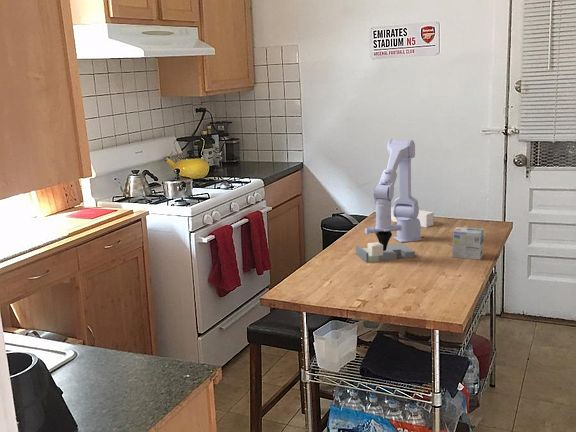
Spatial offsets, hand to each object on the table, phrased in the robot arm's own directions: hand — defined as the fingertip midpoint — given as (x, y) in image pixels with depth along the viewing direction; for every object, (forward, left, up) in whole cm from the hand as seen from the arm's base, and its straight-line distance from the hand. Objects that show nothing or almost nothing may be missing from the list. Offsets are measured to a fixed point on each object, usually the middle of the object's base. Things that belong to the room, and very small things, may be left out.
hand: (383, 250), depth 255 cm
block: (+4, +1, -1) cm, 4 cm away
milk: (-38, -36, 0) cm, 53 cm away
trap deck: (-2, -3, -3) cm, 5 cm away
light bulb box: (-31, +9, -3) cm, 32 cm away
